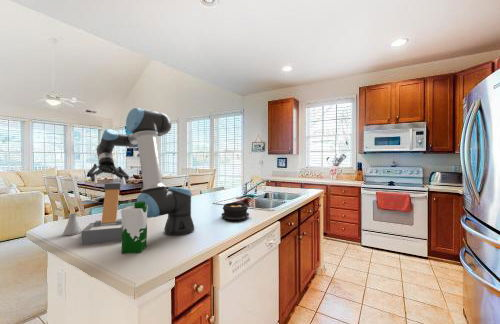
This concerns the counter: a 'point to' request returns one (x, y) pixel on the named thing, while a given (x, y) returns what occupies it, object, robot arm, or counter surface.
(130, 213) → the milk carton
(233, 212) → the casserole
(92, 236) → the switch box
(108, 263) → the counter surface
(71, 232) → the flask
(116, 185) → the lever
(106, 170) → the robot arm
